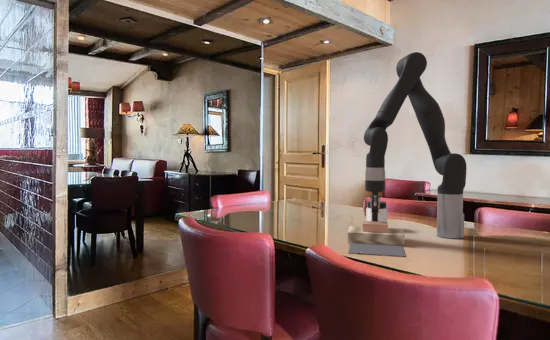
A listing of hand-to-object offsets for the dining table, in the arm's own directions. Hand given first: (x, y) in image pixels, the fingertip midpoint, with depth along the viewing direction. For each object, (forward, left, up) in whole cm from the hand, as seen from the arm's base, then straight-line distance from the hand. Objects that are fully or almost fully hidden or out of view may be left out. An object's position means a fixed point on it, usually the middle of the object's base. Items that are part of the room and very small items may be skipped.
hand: (374, 223), depth 140 cm
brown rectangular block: (0, +4, -2) cm, 5 cm away
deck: (0, +4, -6) cm, 7 cm away
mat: (0, +18, -6) cm, 19 cm away
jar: (-1, -20, -6) cm, 21 cm away
